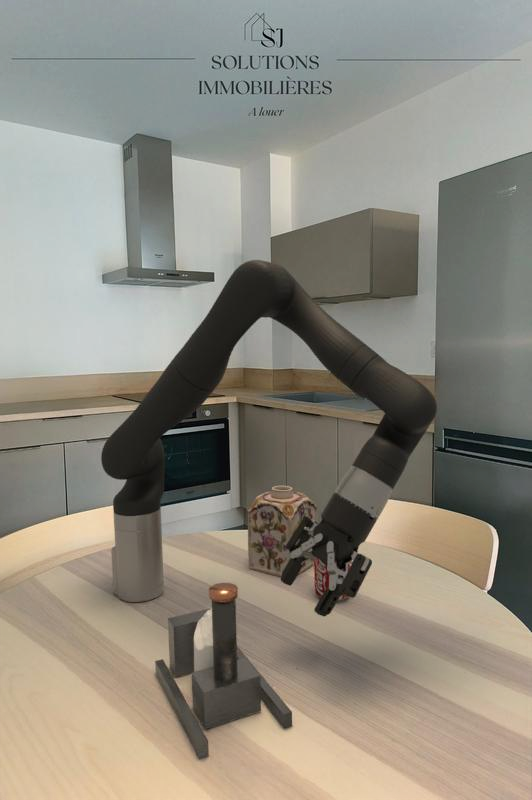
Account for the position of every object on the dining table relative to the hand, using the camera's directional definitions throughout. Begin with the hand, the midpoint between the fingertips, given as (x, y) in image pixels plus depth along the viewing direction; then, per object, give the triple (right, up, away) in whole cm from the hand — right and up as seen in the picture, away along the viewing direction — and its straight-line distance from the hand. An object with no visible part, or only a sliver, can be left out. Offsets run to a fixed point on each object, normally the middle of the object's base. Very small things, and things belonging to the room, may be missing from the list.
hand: (301, 598), depth 83 cm
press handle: (-11, -13, -7) cm, 18 cm away
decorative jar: (-1, -8, +43) cm, 44 cm away
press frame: (-12, -13, -4) cm, 18 cm away
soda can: (+8, -9, +27) cm, 30 cm away
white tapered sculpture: (-13, -13, -1) cm, 18 cm away
